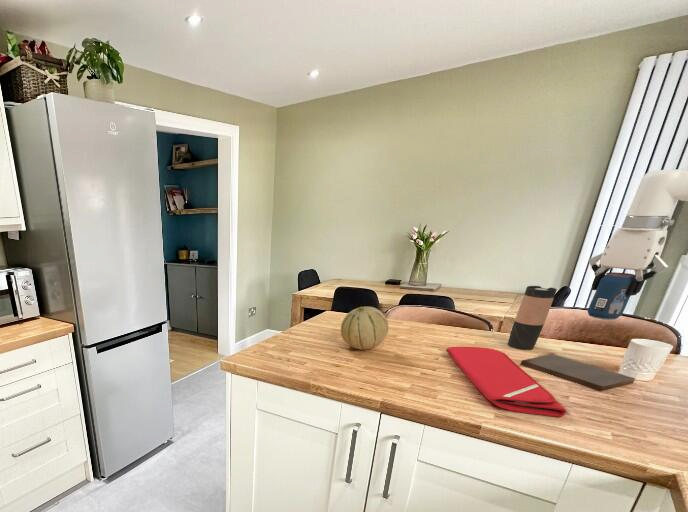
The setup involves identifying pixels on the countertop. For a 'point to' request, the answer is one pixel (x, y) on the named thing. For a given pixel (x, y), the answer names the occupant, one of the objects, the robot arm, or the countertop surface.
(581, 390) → the countertop surface
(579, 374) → the serving board
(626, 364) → the white cup
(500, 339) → the countertop surface
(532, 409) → the red folded napkin
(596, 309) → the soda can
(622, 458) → the countertop surface
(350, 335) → the cantaloupe
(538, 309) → the travel mug
